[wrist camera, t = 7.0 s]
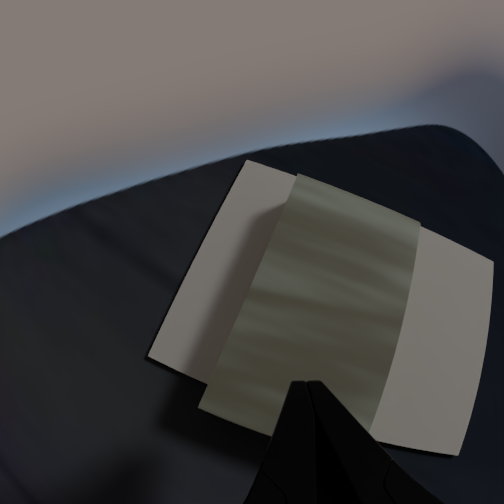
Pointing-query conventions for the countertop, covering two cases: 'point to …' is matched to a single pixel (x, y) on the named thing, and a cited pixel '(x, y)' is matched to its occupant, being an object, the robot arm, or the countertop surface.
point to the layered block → (318, 308)
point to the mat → (411, 335)
